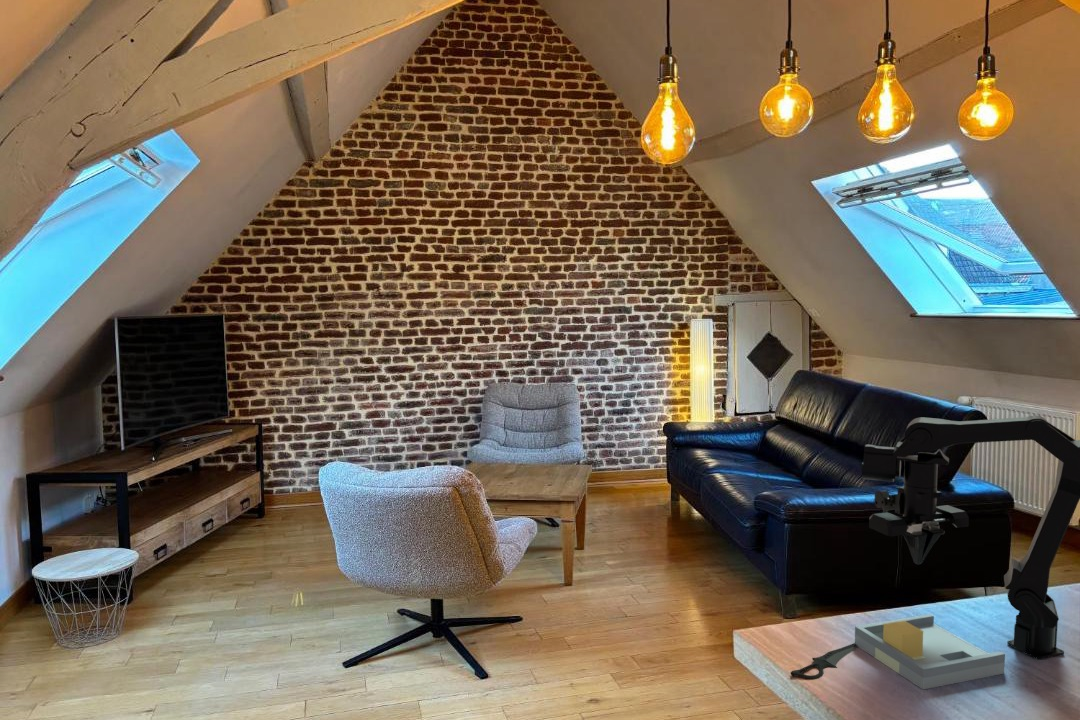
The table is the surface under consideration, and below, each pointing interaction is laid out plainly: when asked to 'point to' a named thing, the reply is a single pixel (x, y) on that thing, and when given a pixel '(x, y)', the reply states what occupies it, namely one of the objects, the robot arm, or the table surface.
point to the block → (904, 637)
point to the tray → (931, 654)
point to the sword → (825, 661)
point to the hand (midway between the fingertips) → (917, 563)
